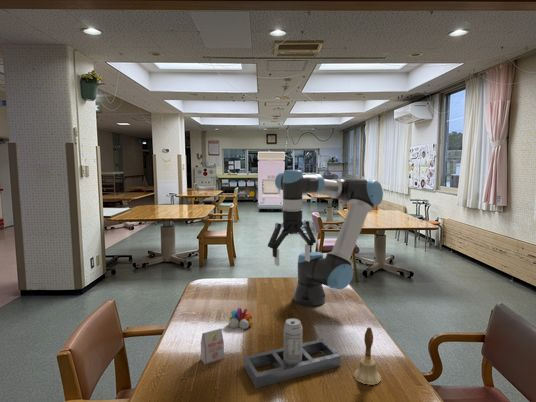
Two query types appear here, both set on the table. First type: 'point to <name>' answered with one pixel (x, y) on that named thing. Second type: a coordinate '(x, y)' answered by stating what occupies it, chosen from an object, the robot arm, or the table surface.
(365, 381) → the hand bell
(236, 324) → the rainbow disc toy
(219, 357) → the white printed box
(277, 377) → the rack
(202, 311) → the table surface
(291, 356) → the energy drink can
